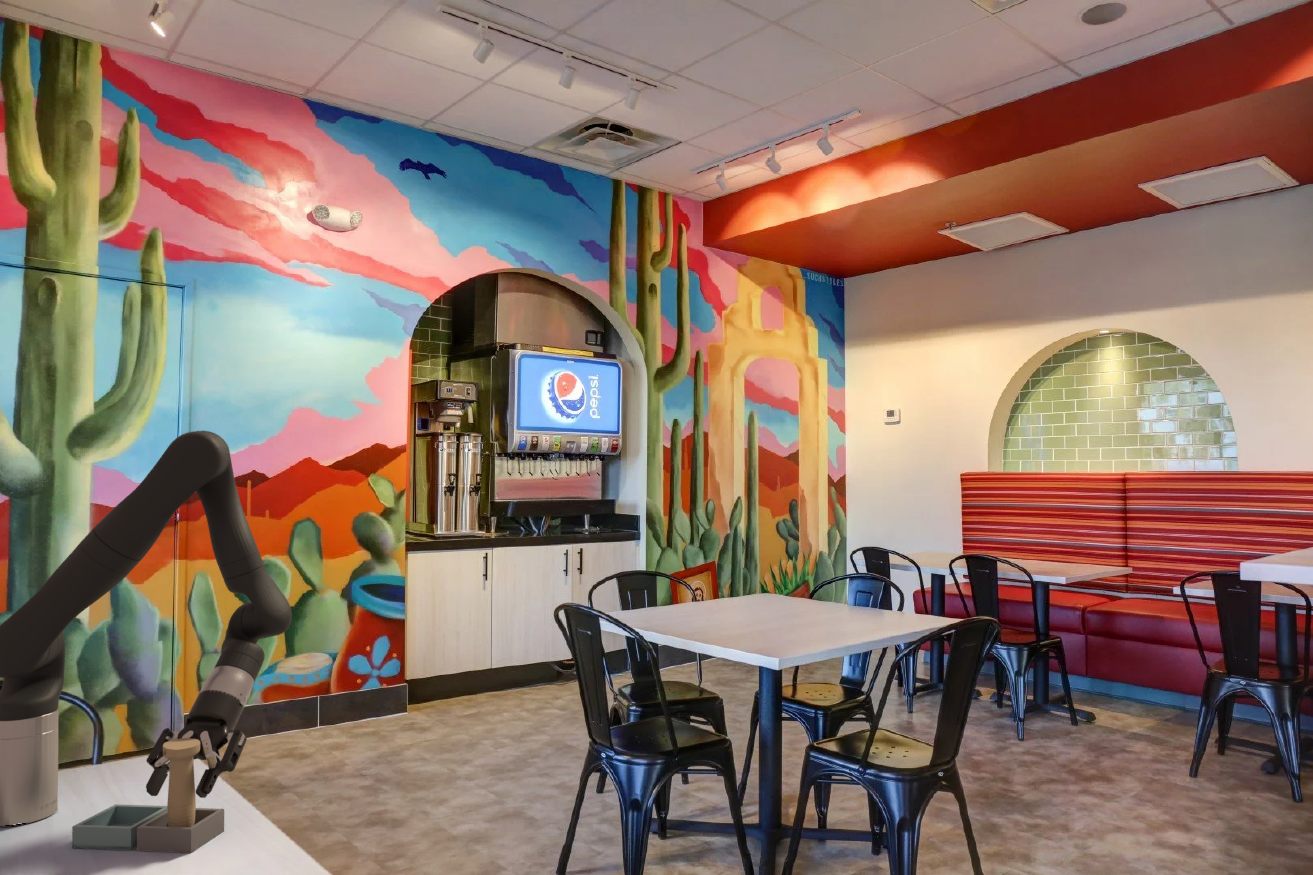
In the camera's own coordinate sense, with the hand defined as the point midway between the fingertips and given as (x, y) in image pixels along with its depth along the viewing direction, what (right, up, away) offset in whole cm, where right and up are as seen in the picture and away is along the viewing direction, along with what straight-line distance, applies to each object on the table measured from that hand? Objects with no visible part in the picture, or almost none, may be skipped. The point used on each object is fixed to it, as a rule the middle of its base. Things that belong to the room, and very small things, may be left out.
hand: (175, 794), depth 134 cm
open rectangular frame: (0, -8, +1) cm, 8 cm away
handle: (0, -8, +1) cm, 8 cm away
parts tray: (-10, -8, +3) cm, 13 cm away
